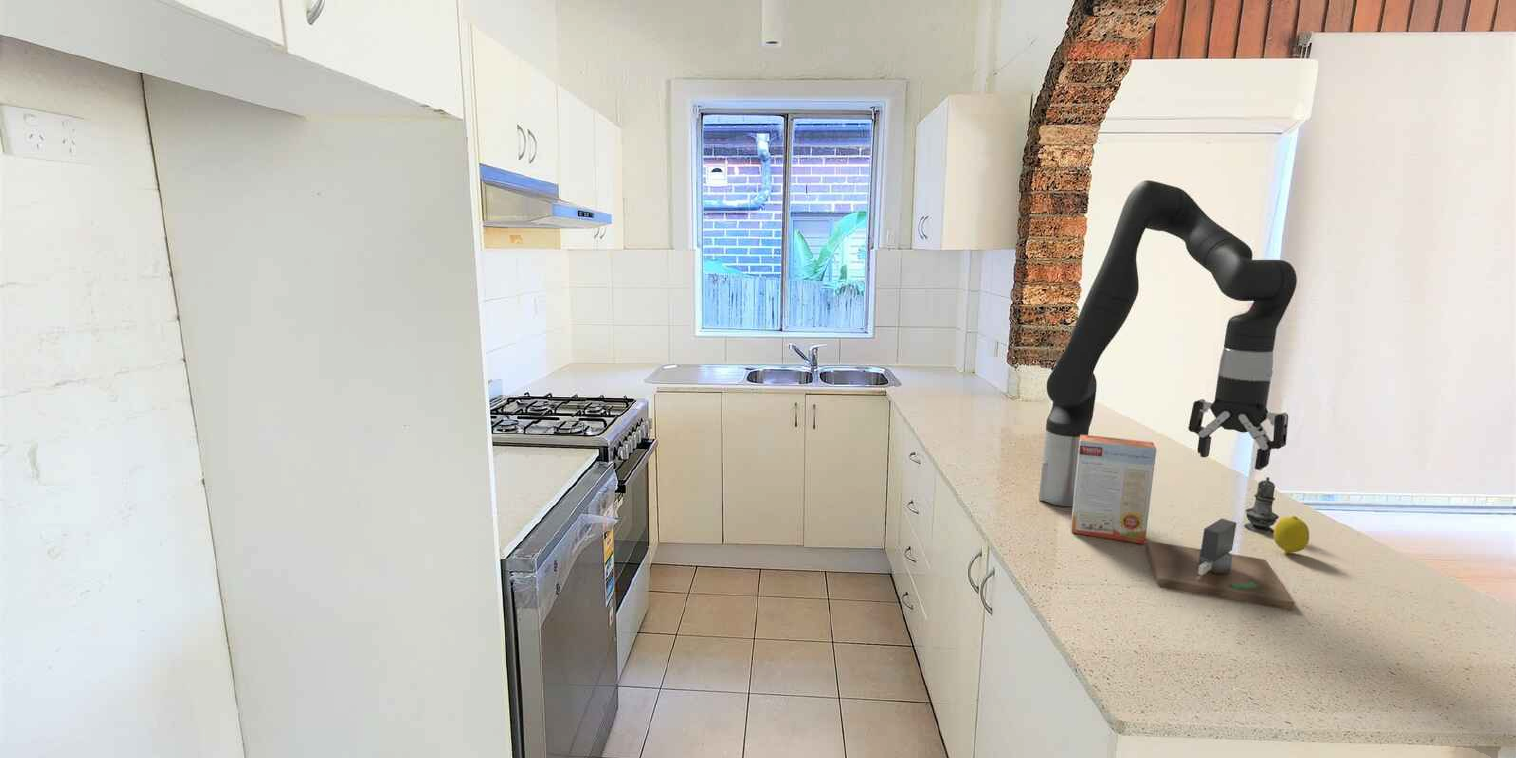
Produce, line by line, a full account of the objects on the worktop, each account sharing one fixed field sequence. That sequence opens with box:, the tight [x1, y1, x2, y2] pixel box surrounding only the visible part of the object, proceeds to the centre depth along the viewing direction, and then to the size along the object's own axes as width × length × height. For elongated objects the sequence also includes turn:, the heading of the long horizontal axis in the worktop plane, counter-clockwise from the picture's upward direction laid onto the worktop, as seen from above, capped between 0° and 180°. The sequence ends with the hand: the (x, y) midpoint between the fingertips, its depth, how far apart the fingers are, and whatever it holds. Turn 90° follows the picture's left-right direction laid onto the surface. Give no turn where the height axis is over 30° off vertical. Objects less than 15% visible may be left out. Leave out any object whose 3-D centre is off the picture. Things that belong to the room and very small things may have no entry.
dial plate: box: [1145, 540, 1295, 611], centre depth 124 cm, size 20×17×2 cm
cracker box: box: [1070, 434, 1157, 545], centre depth 140 cm, size 14×6×21 cm, turn 65°
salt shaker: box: [1243, 476, 1279, 535], centre depth 144 cm, size 6×6×12 cm
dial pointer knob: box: [1198, 518, 1237, 575], centre depth 122 cm, size 10×5×8 cm, turn 126°
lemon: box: [1273, 515, 1310, 555], centre depth 132 cm, size 6×6×8 cm
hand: (1231, 462), depth 119 cm, fingers open, 8 cm apart
